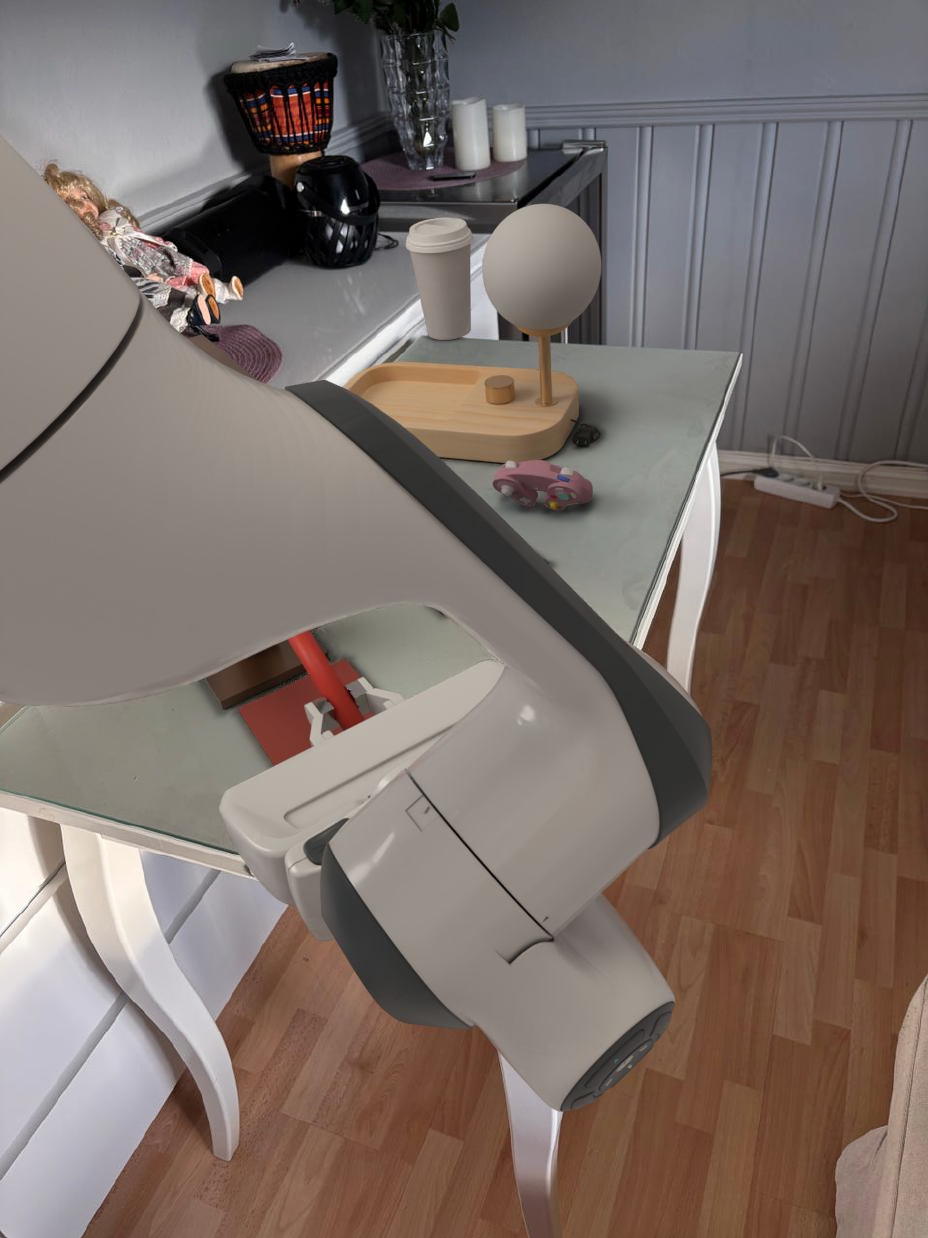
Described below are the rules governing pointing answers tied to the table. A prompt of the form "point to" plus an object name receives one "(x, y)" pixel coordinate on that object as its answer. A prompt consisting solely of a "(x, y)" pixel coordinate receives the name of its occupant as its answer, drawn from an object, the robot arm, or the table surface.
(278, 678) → the brown stand
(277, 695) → the red mat
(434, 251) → the coffee cup
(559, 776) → the robot arm
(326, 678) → the red toy mallet
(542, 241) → the lamp
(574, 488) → the video game controller
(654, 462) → the table surface
